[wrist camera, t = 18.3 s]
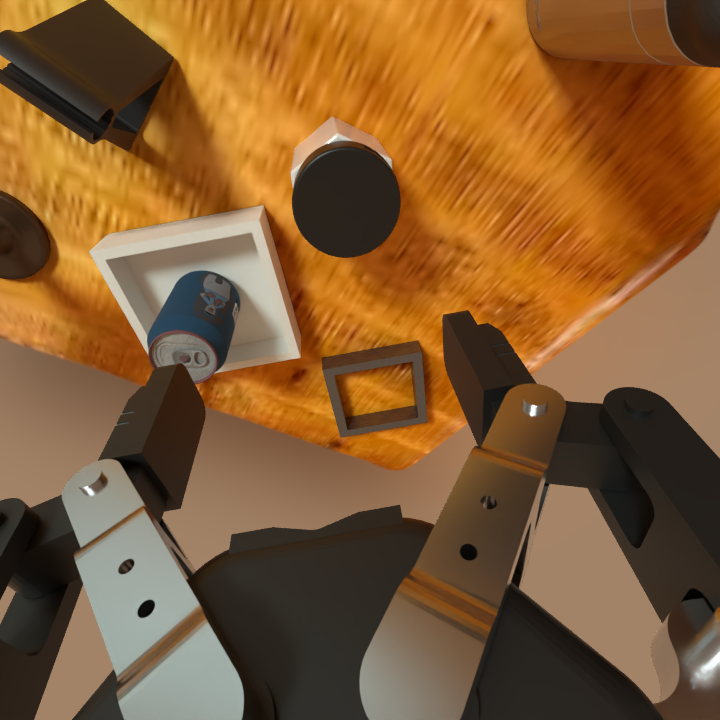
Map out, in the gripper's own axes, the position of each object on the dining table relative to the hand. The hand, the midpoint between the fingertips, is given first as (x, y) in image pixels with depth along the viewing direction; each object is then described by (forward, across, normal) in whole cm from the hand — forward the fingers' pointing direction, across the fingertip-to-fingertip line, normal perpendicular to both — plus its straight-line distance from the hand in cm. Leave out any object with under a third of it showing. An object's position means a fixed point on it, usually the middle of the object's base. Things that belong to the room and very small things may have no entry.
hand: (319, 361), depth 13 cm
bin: (+33, -14, -12) cm, 38 cm away
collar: (+33, +2, -30) cm, 45 cm away
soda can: (+32, -14, -12) cm, 37 cm away
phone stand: (+34, -15, +8) cm, 38 cm away
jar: (+33, +2, -2) cm, 34 cm away
